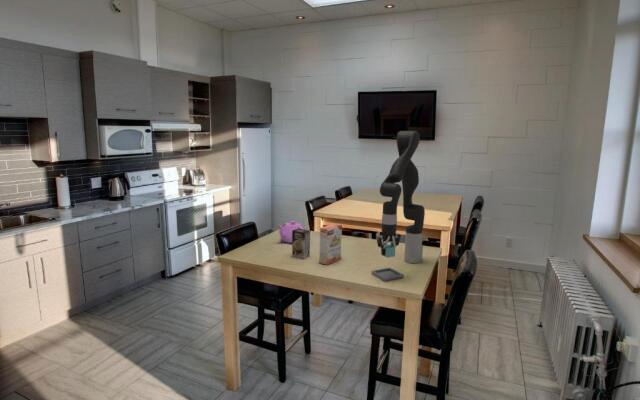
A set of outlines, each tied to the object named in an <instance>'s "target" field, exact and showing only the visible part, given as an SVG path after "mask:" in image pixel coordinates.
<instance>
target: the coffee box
mask: <svg viewBox="0 0 640 400" xmlns="http://www.w3.org/2000/svg"><path fill="white" fill-rule="evenodd" d="M291 246H292V247H291V249H292V250H291V251H292V254H291V255H292V257H293V258H294V257H295V258H297V259H298V258H299V259H301V260H302V259H303V260H305V259H307V258H310V257H311V230H310V229H309V230H308V229H305V228H304V229H295V230H292V243H291Z"/></svg>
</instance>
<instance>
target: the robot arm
mask: <svg viewBox="0 0 640 400" xmlns="http://www.w3.org/2000/svg"><path fill="white" fill-rule="evenodd" d="M420 141H421V140H420V134H419V132H418V131H416V130H400V131H398V132H397V134H396V146H397V152H398V153H397V154H398V157H397V158H396V159H395V161H393V163H392V165H391V167H390V170H389V173H388V175H387V176H386V178H385V179H384V180H383V182H382V183H381V184H380V187H379V193H380V195H381V196H382V197H385V198H391V200H390V201H385V202H383V203H382V216H381V235H379V236H378V235H376V237H375V238H376V242H377V247H378V248H380V255H381V254H382V255H383V257H384V256H385V250H386V249H385V248H386V245H389V243H390V245H392V246H394V247H395V248H396V247H397V246H399V244H400V241H401V236H402V234H400V233H397V228H398V226H397V225H398V215H397V214H398V205H399V201H400V197H401V194H402V198H403V199H402V208H403V210H402V212H403V217H404V219H405V220H408V221H413V224H410V225H407V226H406V227H405V235H404V236H405V239H404V242H405V243H404V260H403V261H404V262H406V263H408V264H409V263H410V264H419V263H421V262H423V253H424V252H423V251H424V249H423V248H424V245H423V229H424V224H425V223H424V222H425V213H426V212H425V207H424V205H421V204H417V203H416V204H414V203H413V195H414V193H415V191H416V189H417V188H418V187H419V183H420V178H419V169H418V168H417V166H416V165H415V163H414V162H413V160H412V157H413V156H414V154H415V152H416V151H417V149H418V146H419V143H420ZM400 182H401V185H402V187H401V185H400V184H399V183H400ZM382 255H381V256H382Z"/></svg>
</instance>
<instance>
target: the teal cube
mask: <svg viewBox="0 0 640 400" xmlns="http://www.w3.org/2000/svg"><path fill="white" fill-rule="evenodd" d="M385 249H386V250H385V256H383V255H382V254H381V253H380V255H381V256H383V257H385V258H387V259H389V258H393V257H396V247H394V246H392V245H391V243H390V244H389V243H388V244H387V245H386V248H385Z"/></svg>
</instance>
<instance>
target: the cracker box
mask: <svg viewBox="0 0 640 400" xmlns="http://www.w3.org/2000/svg"><path fill="white" fill-rule="evenodd" d="M342 231H343V225H342V224H339V223H332V224H331V223H330V224H328V225H325V226H322V227H319V258H318V259H319V261H318V262H319V264H322V265H325V266H329V265H330V264H332V263H335V262H338V261H339V260H341V259H342V236H343V234H342Z"/></svg>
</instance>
